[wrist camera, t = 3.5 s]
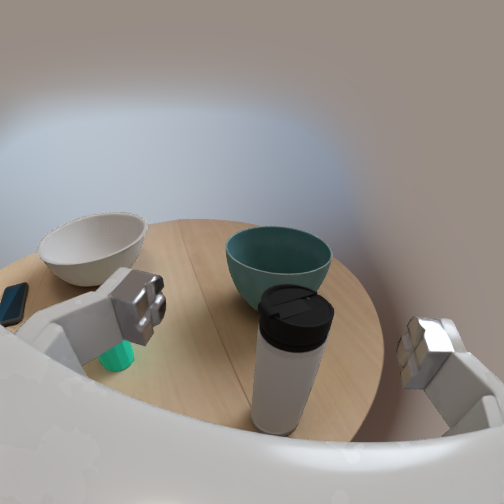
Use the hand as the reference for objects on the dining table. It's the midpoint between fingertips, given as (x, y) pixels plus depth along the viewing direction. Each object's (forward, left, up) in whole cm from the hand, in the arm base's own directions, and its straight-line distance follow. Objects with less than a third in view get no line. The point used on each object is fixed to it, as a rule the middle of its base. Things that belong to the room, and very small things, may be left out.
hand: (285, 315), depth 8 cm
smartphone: (+20, +57, -28) cm, 66 cm away
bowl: (+39, +42, -28) cm, 63 cm away
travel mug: (+12, -1, -28) cm, 30 cm away
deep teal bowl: (+37, +1, -28) cm, 46 cm away
